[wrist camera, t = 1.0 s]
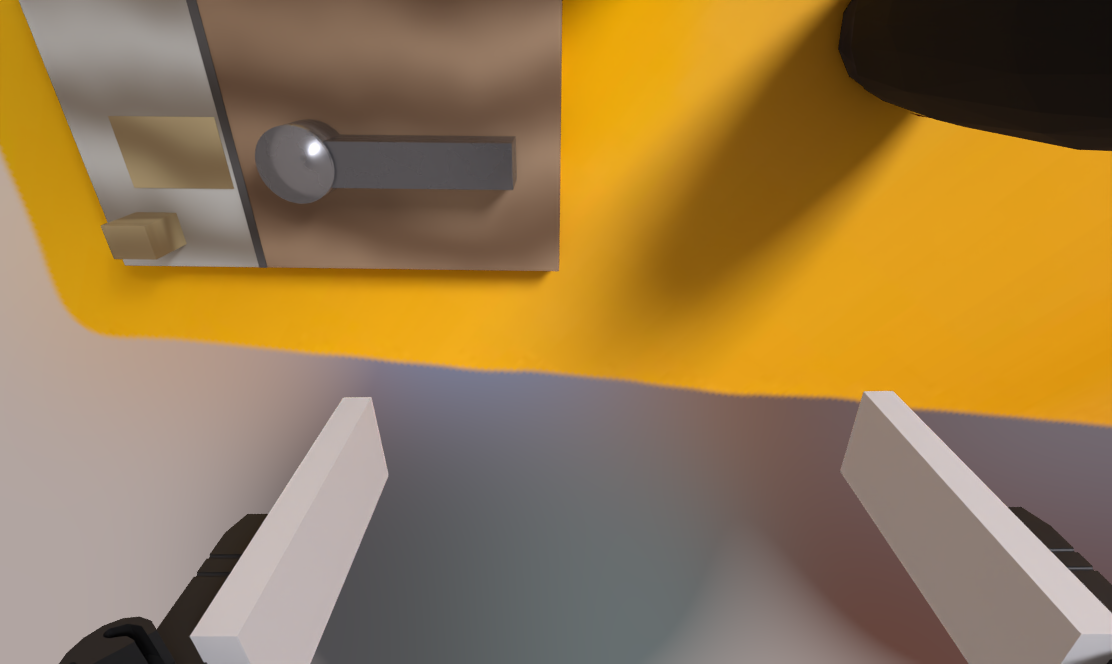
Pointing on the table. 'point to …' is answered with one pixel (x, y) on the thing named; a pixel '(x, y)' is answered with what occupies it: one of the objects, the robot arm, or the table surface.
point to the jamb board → (307, 93)
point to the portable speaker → (990, 64)
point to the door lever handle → (379, 161)
